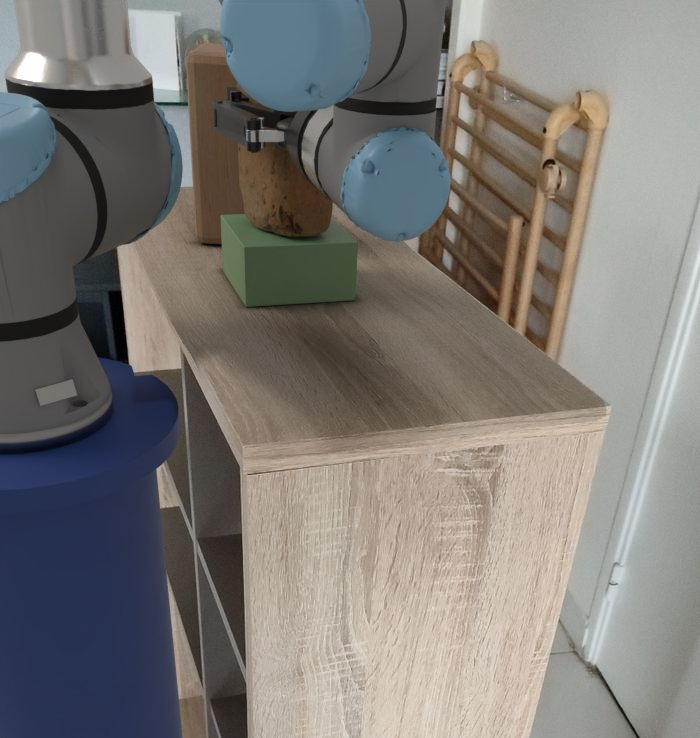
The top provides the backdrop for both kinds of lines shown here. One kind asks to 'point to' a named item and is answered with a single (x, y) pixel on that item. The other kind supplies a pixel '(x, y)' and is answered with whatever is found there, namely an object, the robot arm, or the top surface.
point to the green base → (288, 264)
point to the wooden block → (211, 143)
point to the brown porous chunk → (280, 192)
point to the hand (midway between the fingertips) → (276, 102)
